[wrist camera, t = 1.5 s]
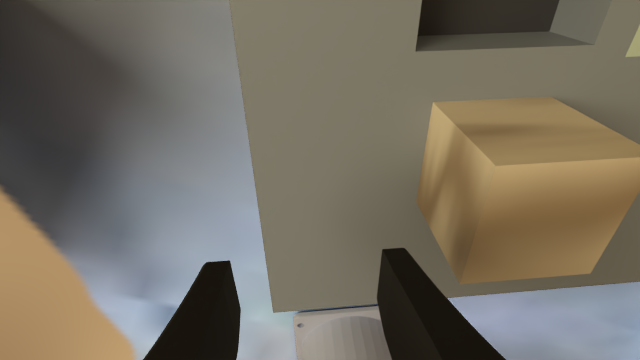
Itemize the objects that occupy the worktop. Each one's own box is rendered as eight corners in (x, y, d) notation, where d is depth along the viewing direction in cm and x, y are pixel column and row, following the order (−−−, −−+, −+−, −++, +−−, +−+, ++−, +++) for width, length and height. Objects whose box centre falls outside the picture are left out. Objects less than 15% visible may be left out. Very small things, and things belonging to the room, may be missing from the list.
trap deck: (722, 238, 25) (771, 270, 22) (274, 273, 23) (273, 312, 20) (1123, -244, 12) (1337, -293, 10) (206, -265, 10) (182, -333, 8)
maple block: (515, 195, 17) (590, 273, 13) (415, 201, 17) (459, 284, 13) (551, 96, 14) (660, 156, 10) (432, 102, 14) (496, 165, 10)
